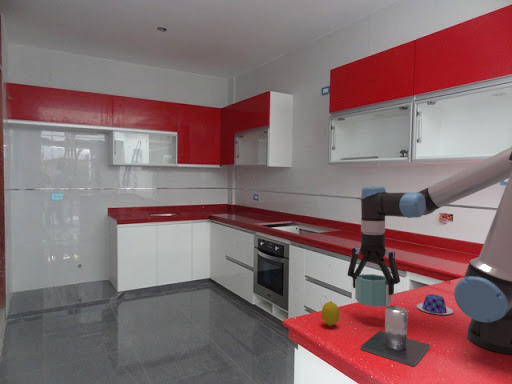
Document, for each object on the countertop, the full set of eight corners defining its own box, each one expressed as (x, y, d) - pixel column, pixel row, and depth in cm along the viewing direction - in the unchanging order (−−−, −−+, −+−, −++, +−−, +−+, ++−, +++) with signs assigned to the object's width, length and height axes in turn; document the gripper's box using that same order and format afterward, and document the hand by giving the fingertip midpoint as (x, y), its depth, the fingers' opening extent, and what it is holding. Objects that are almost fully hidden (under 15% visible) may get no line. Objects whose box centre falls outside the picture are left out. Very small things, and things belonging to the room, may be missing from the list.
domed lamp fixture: (429, 347, 100) (430, 308, 99) (414, 366, 89) (415, 322, 89) (379, 333, 109) (380, 297, 108) (360, 349, 98) (361, 309, 98)
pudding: (427, 316, 125) (427, 301, 124) (410, 305, 137) (410, 291, 136) (460, 316, 125) (461, 301, 125) (440, 305, 137) (441, 291, 137)
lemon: (317, 326, 114) (318, 301, 114) (327, 321, 118) (328, 297, 117) (332, 331, 110) (333, 305, 110) (342, 326, 114) (343, 301, 113)
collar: (392, 301, 119) (392, 277, 119) (381, 308, 111) (381, 282, 111) (364, 296, 125) (364, 273, 125) (352, 302, 117) (353, 278, 117)
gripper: (411, 234, 114) (411, 305, 114) (346, 229, 128) (346, 292, 128) (404, 237, 108) (403, 311, 108) (336, 231, 122) (336, 297, 122)
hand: (372, 301), depth 118 cm, fingers closed on collar, 9 cm apart
